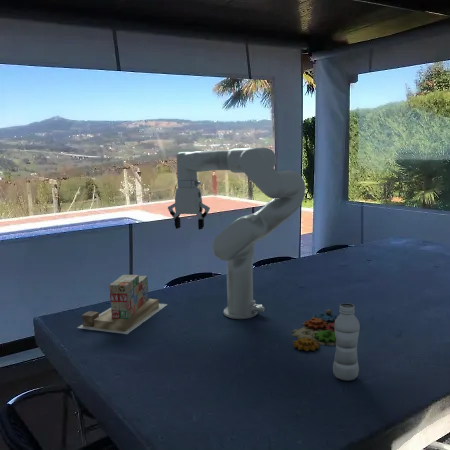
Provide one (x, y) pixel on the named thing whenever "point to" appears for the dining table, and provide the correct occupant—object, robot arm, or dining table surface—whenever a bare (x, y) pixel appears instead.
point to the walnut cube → (89, 318)
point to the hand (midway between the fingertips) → (189, 228)
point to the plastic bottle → (346, 343)
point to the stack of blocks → (128, 295)
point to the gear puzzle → (316, 332)
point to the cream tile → (130, 327)
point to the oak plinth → (123, 324)
